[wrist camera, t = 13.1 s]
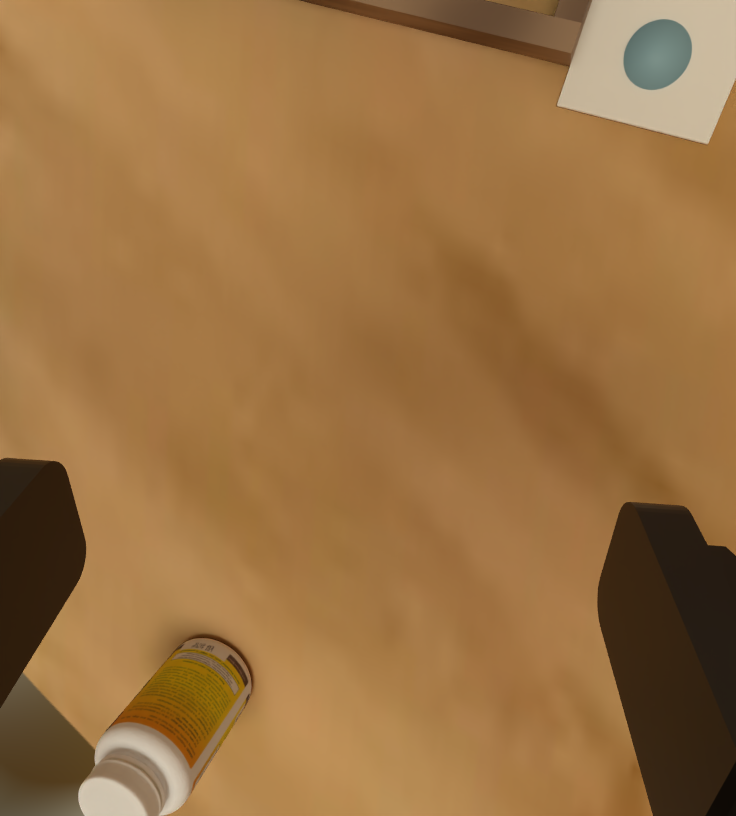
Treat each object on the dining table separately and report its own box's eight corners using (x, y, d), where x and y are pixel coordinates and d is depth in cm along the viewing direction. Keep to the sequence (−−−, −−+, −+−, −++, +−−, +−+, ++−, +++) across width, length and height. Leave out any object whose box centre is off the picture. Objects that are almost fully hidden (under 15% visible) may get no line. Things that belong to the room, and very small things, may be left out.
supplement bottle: (174, 624, 41) (58, 750, 31) (256, 644, 39) (160, 783, 30) (176, 696, 42) (67, 836, 33) (255, 718, 41) (164, 870, 32)
